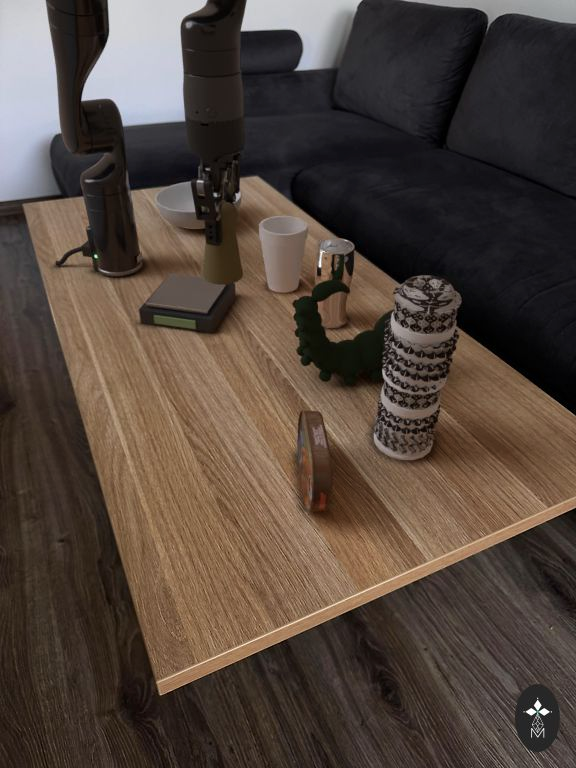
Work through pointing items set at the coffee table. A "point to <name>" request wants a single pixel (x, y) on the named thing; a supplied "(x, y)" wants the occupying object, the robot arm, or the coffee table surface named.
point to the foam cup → (283, 251)
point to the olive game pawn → (224, 251)
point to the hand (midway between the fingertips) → (220, 235)
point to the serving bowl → (182, 205)
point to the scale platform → (186, 294)
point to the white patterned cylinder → (415, 365)
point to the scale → (189, 314)
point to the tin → (314, 461)
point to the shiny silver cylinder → (334, 277)
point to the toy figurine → (345, 354)
